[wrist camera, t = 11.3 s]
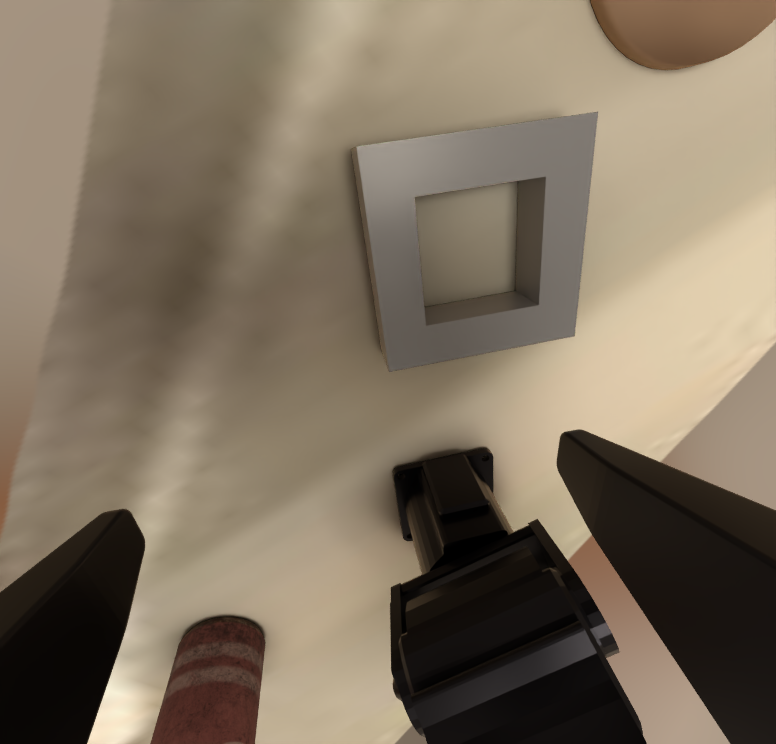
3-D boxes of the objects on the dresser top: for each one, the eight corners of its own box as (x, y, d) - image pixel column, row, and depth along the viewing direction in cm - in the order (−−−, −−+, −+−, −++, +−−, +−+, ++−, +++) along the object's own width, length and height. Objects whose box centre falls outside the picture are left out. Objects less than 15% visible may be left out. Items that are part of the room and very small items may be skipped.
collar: (548, 319, 22) (574, 336, 20) (381, 350, 21) (389, 372, 19) (562, 118, 17) (598, 111, 15) (350, 149, 17) (356, 146, 14)
